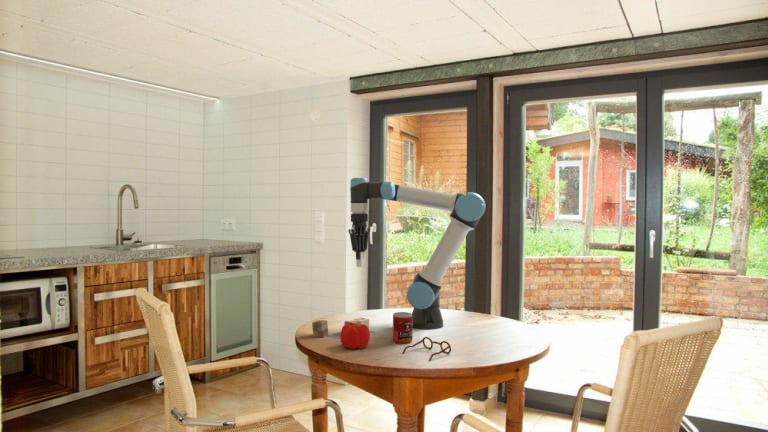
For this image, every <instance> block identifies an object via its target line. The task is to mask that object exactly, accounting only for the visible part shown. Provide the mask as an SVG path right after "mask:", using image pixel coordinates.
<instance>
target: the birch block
mask: <svg viewBox="0 0 768 432" xmlns="http://www.w3.org/2000/svg"><path fill="white" fill-rule="evenodd" d="M350 322H352V323H356V324H358V326H360V325H362V324H365V325H366V326H367V327H368V329H369V330H370V318H365V317H357V318H352V319H349V320H348V319H347V320H344V325H345V324H350ZM344 325H343V326H344Z"/></svg>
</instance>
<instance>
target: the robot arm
mask: <svg viewBox="0 0 768 432" xmlns="http://www.w3.org/2000/svg"><path fill="white" fill-rule="evenodd" d="M349 192H350V194H349V195H350V222H351V223H352V224H351V228H349V229H348V230H347V232H348V234H349V238H350V243H351V250H352V251H353V252H354V253H355V260H356V263H355V265H356V267H357V268H364V256H365V255H364V254H365V252H366V251H367V250H368V244H369V237H370V236H369V235H370V231H371V228H370V227H369V228H368V227H367V226H368V225H367V222H368V221H369V215H368V212H369V203H368V202H369V201H368V200H385V201H393V202H399V203H404V204H409V205H414V206H420V207H426V208H431V209H437V210H442V211H447V212H451V213H450V214H449V218H450V222H449V224H448V225H447V228H446V230H445V231H444V232H443V234H442V237H441V238H440V240H439V242H438V244H437V246H436V247H435V249H434V250H433V252H432V254H431V256H430V258H429V260H428V262H427V263H426V265H425V267H424V269H423V270H420V271H418V273H416V274H414V276H413V281H412V282H411V284H410V285H409V286H408V287H407V291H406V299H407V302H408V303H409V305H410V306H412V307H413V310H412V312H411V314H412V328H417V329H424V330H425V329H426V330H432V329H433V330H434V329H439V328H442V327H444V319H443V316H442V312H441V309H440V305H441V297H440V295H441V292H440V291H441V289H442V287H443V281H442V279H443V278H444V276H445V275H446V273H447V271H448V270H449V267H450V265H451V264H452V262H453V260H454V258H455V257H456V255H457V253H458V251H459V250H460V248H461V246H462V245H463V243H464V241H465V239H466V237H467V235H468V233H470V231H474V230H475V229H476V227H477V225H478V223H479V222H480V219H482V217H483V216H484V214H485V212H486V210H487V204H486V200H485V199H484V197H482V196H481V195H480V194H479V193H477V192H472V191H468V192H464V193H459V192H457V193H455V194H453V193H447V192H440V191H435V190H429V189H423V188H417V187H413V186H412V187H411V186H406V185H399V184H395V183H394V182H393V181H388V180H387V181H372V182H371V181H368V178H367V177H352V178H351V179H350V187H349Z"/></svg>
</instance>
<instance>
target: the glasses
mask: <svg viewBox="0 0 768 432" xmlns="http://www.w3.org/2000/svg"><path fill="white" fill-rule="evenodd" d="M425 339H426V340H428V341H429V342H430V347H428V346H427V345H426V344H425V343H426V342H425ZM421 343H422V344H423V346H424V348H425V349H429V350H432V349H433V347H434V344H436V345H439V347H440V350H439V351H437V352H434V353H432V354H431V355H430V357H429V359H428V362H431V361H432V359H433V357H434V356H436V355H440V354H442V353H444V354H450V353H451V351H452V347H451V345H450V343H449V341H447V340H443V341H441V342H438V341H436V340H435V341H433V340H432V339H431V338H430V337H429V336H425V337H423V338H422V339H421V340H419V341H417V342H416V343H414V344H412V345H407V346H405V347H404V349H403V351H402V353H401V354H402V355H404V354H405V352H406V351H407V349H408V348H414V347H416V346H418V345H419V344H421ZM443 344H446V345H447V346H446V347H444V348H443ZM448 349H449V350H448ZM446 350H448V351H446Z"/></svg>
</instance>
